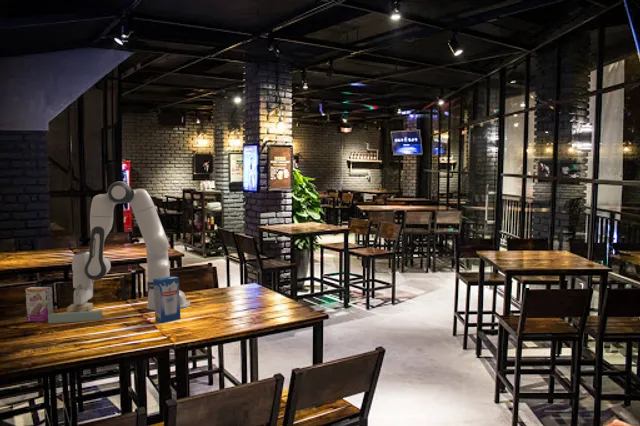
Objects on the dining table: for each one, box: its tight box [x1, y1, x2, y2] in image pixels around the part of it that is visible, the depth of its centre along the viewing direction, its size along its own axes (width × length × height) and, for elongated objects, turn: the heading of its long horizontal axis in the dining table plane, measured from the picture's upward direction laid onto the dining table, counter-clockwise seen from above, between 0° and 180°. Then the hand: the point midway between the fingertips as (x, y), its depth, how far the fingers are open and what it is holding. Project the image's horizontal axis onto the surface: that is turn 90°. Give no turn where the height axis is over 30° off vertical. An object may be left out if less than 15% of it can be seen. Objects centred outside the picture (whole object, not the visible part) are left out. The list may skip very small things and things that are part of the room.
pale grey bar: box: [47, 310, 103, 324], centre depth 261 cm, size 24×3×4 cm, turn 98°
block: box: [66, 302, 94, 313], centre depth 269 cm, size 10×8×6 cm
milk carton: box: [153, 275, 182, 324], centre depth 256 cm, size 10×6×20 cm, turn 134°
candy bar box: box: [24, 286, 54, 323], centre depth 263 cm, size 11×5×16 cm, turn 84°
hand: (84, 310), depth 275 cm, fingers closed
